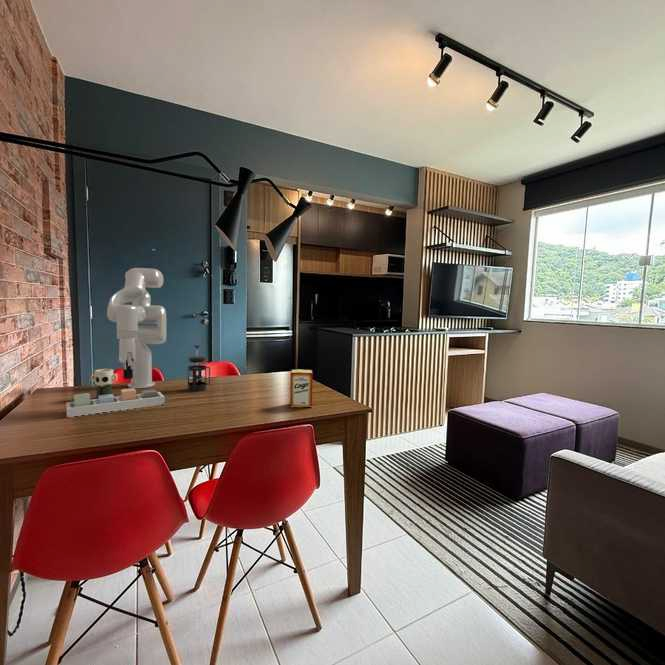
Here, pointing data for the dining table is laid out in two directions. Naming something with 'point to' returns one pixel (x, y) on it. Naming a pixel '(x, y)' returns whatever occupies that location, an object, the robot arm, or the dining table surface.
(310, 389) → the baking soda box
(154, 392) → the key charcoal
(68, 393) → the dining table surface
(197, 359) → the french press
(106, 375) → the character mug
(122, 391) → the key terracotta
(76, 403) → the key sage
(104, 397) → the key blue
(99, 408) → the keypad housing
